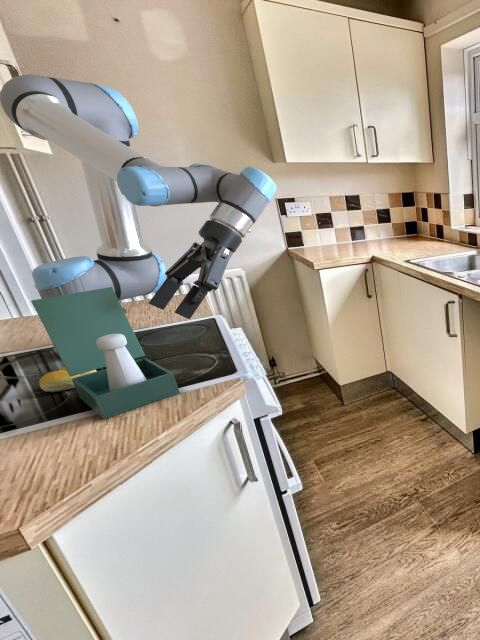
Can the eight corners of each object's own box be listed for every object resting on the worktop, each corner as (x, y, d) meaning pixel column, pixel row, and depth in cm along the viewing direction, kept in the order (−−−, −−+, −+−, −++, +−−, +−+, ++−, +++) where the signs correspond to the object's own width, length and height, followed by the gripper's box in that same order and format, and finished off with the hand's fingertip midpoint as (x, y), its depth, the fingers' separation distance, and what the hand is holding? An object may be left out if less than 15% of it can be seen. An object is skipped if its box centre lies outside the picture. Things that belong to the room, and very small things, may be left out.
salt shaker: (120, 405, 82) (94, 343, 77) (109, 398, 85) (83, 338, 80) (156, 392, 87) (133, 333, 82) (144, 386, 89) (122, 328, 85)
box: (180, 392, 88) (172, 372, 86) (103, 419, 78) (94, 397, 77) (152, 376, 96) (145, 357, 94) (80, 398, 86) (71, 378, 85)
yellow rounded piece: (32, 392, 90) (23, 375, 88) (79, 374, 98) (72, 358, 96) (63, 394, 88) (55, 377, 87) (108, 376, 96) (101, 360, 95)
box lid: (112, 286, 91) (111, 287, 91) (31, 300, 82) (30, 301, 82) (145, 355, 94) (144, 356, 94) (70, 376, 84) (70, 376, 85)
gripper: (270, 243, 90) (213, 329, 84) (216, 237, 104) (164, 311, 98) (237, 219, 84) (173, 310, 78) (185, 216, 98) (127, 294, 92)
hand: (168, 311), depth 88 cm, fingers open, 13 cm apart
